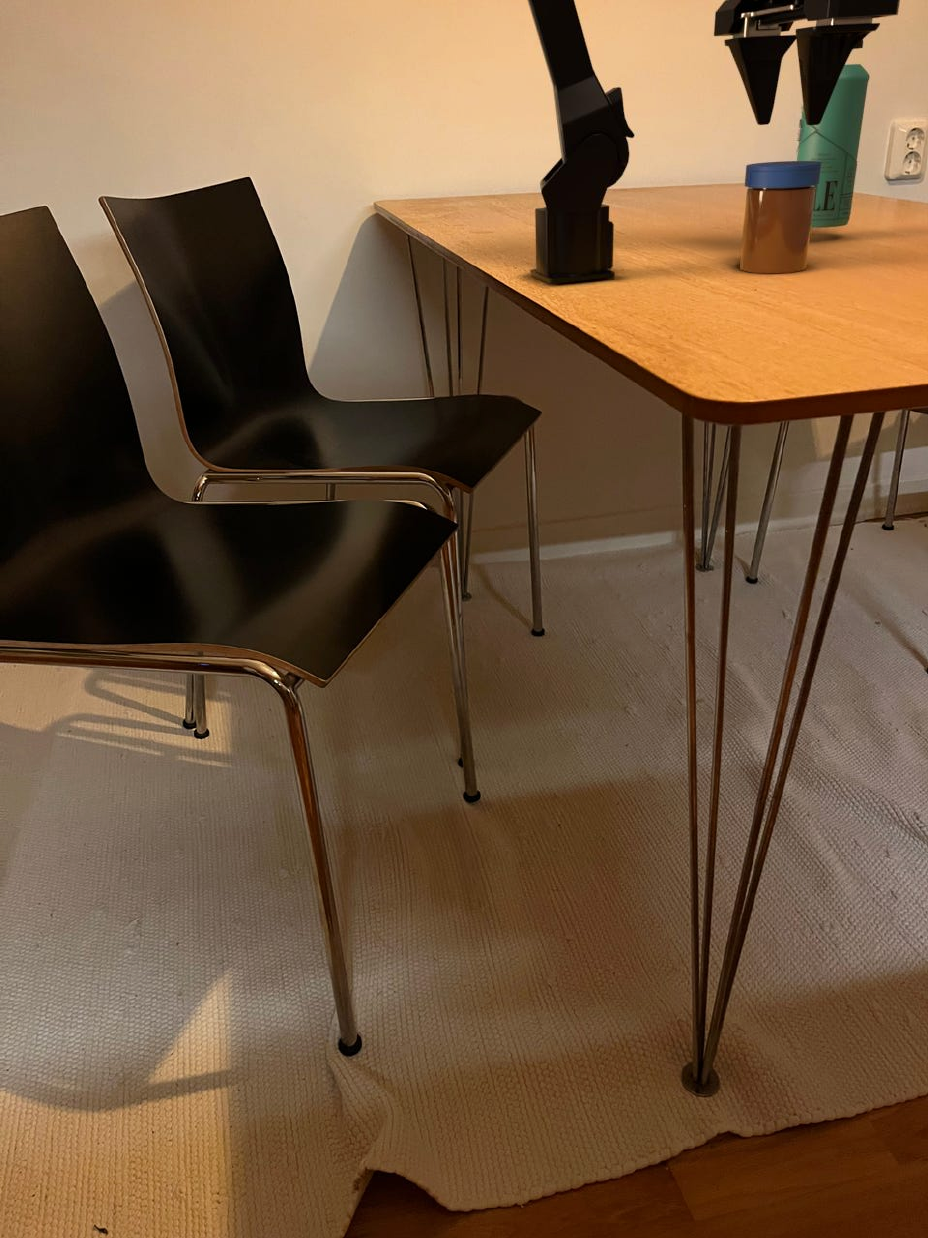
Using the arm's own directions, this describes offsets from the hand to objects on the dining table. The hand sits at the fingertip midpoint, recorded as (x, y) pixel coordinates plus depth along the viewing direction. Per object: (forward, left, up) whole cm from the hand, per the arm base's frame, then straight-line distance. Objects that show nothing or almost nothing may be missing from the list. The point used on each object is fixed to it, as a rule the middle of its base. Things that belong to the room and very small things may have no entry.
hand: (787, 124), depth 81 cm
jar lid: (0, 0, -4) cm, 4 cm away
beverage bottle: (+14, +14, -12) cm, 23 cm away
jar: (0, 0, -12) cm, 12 cm away
